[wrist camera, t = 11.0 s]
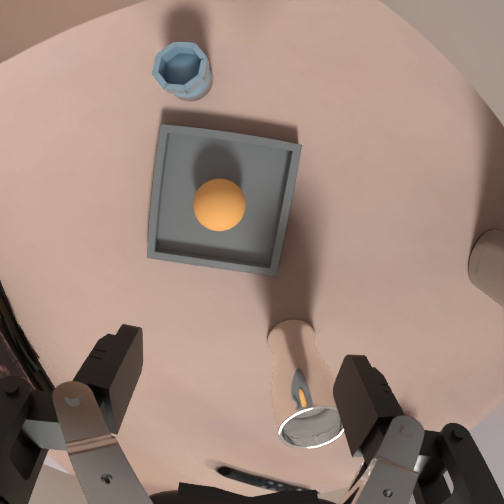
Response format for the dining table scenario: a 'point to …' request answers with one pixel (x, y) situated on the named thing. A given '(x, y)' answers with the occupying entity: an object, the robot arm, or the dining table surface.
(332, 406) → the beer glass
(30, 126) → the dining table surface
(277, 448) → the dining table surface
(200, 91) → the cup
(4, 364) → the diary
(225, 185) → the ball
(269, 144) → the tray
